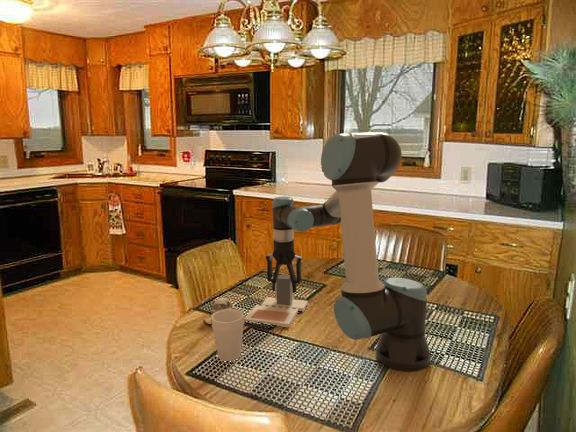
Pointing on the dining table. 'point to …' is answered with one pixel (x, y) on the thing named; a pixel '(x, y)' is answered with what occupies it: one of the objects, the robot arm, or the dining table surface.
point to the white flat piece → (272, 315)
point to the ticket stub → (285, 295)
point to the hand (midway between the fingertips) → (284, 299)
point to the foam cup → (228, 333)
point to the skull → (221, 305)
